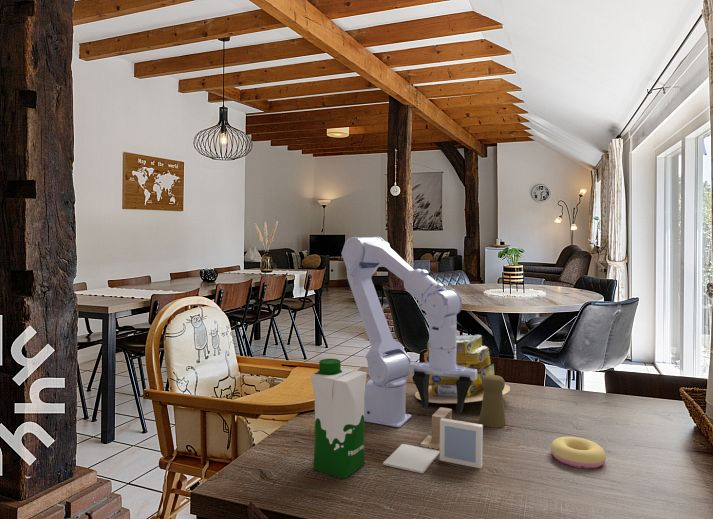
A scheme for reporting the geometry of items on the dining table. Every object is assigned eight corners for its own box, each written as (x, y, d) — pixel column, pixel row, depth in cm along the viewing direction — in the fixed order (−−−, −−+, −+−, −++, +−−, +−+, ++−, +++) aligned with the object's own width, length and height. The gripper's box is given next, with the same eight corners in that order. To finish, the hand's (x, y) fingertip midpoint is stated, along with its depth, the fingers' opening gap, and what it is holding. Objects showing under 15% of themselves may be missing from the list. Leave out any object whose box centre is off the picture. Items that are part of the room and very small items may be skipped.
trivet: (383, 464, 100) (383, 462, 100) (402, 445, 109) (402, 443, 109) (423, 473, 97) (423, 471, 97) (439, 452, 106) (439, 450, 106)
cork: (507, 428, 119) (507, 380, 118) (479, 426, 120) (480, 378, 119) (505, 419, 125) (505, 373, 124) (478, 417, 126) (479, 371, 125)
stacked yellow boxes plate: (396, 397, 141) (396, 335, 140) (449, 379, 158) (450, 323, 157) (476, 421, 123) (477, 351, 122) (526, 397, 141) (528, 335, 140)
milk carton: (332, 453, 106) (332, 354, 104) (371, 464, 101) (372, 360, 100) (306, 470, 98) (305, 364, 97) (346, 482, 93) (346, 371, 92)
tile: (439, 460, 103) (439, 420, 102) (441, 457, 104) (441, 418, 103) (480, 468, 99) (481, 427, 99) (482, 465, 100) (482, 424, 100)
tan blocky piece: (434, 430, 118) (435, 406, 117) (456, 434, 116) (457, 409, 115) (420, 446, 109) (420, 420, 109) (444, 450, 107) (444, 424, 107)
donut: (567, 456, 110) (541, 462, 104) (566, 433, 110) (540, 438, 105) (615, 466, 102) (590, 472, 96) (614, 441, 103) (589, 446, 97)
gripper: (404, 346, 112) (404, 409, 113) (471, 353, 106) (471, 420, 107) (415, 340, 119) (415, 400, 119) (480, 346, 112) (479, 409, 113)
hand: (442, 408), depth 114 cm, fingers open, 7 cm apart
